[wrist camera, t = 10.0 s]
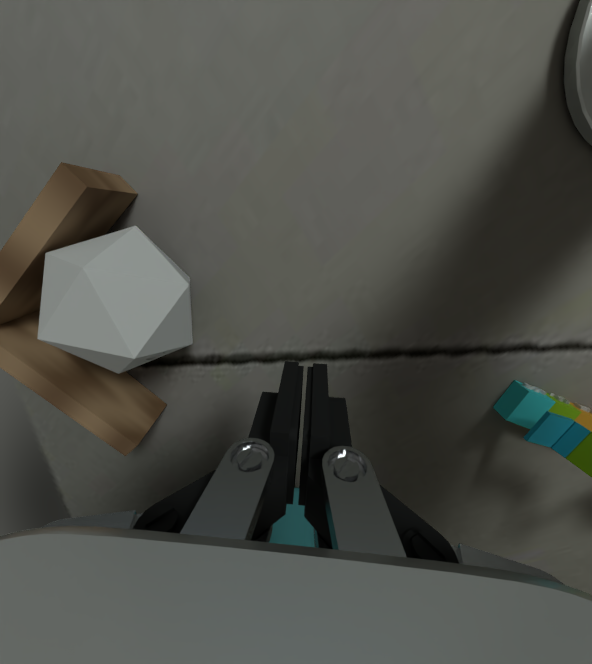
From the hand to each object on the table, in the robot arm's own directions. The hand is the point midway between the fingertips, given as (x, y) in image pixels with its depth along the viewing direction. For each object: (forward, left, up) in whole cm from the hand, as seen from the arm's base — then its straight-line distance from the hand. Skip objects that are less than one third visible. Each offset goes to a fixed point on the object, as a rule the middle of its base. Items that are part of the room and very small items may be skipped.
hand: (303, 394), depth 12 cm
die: (+11, -1, -12) cm, 16 cm away
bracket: (+17, +1, -11) cm, 20 cm away
